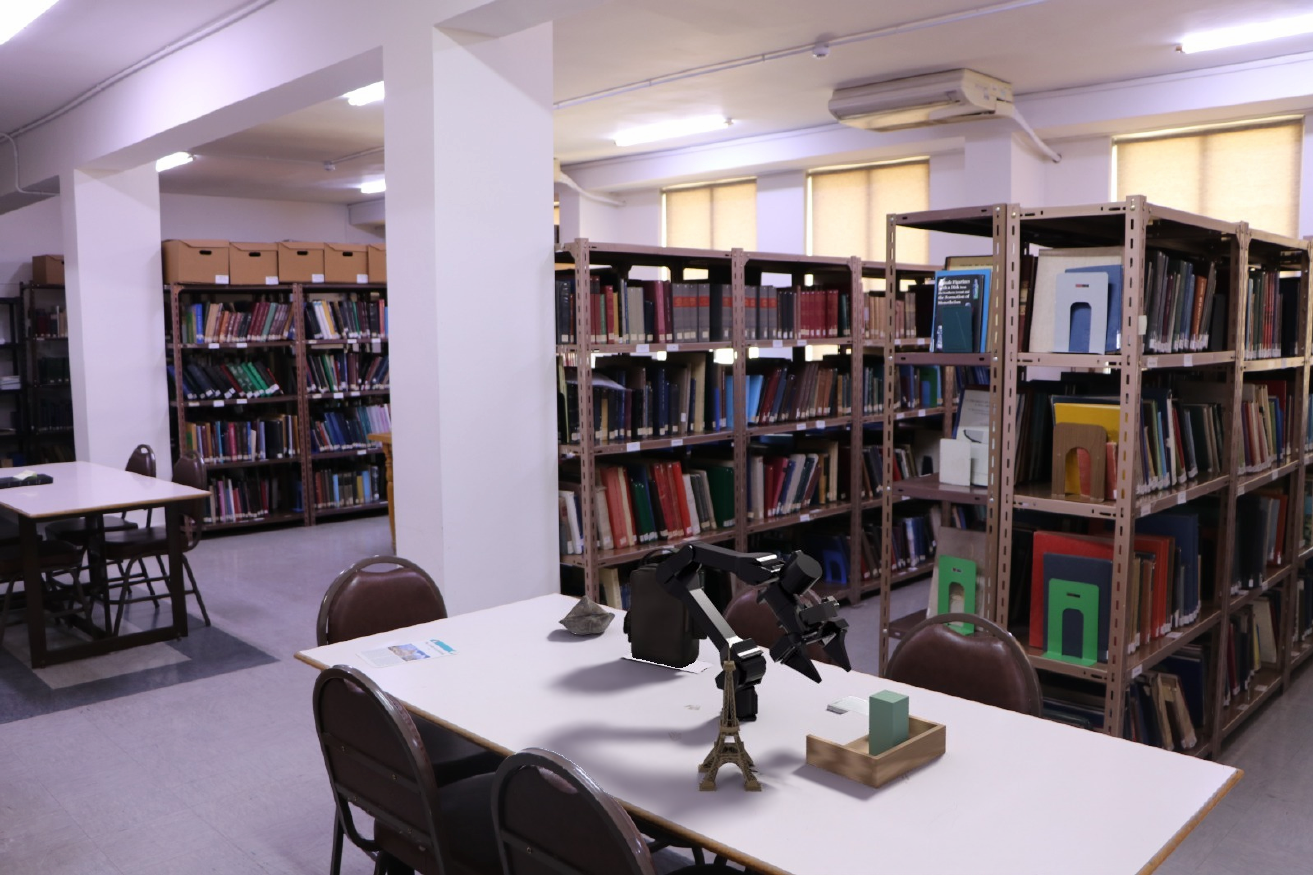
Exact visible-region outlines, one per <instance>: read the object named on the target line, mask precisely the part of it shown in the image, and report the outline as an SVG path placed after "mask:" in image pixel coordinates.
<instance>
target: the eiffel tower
mask: <svg viewBox="0 0 1313 875" xmlns="http://www.w3.org/2000/svg"><path fill="white" fill-rule="evenodd" d="M722 670H725V671H726V673H725V685H724V697H723V696H722V708H723V710H722V709H721V714H722V715H721V718H719V719H718V730H719V731H718V736H717V739H716V740H713V747H712V749H711V750H710V751H709V753H708V754H707V755H706V757H705V758H704V759H703V762H702V763H701V764H698V772H699V773H706V774H705V776H704V777H703V778H702V781H701V782H699V792H716V791H717V788H716V787H717V786H716V779H717V776H718V773H719V769H720V768H722V766H724V765H726V764H734V765H736V766H737V767H739V769H740V770H741V773H742V775H743V777H744V789H745V792H762V791H763V789H762V784H761V783H760V782H759V781H758V778H757V777H756V776H755V775H754V774H753V773H759V771H757V770H754V769H752V768H750V767H755V766H756V765H755V763H754V760H753V759H752V757H751V755H750V754H749V753H748V751H747V750H746V749H745V742H744V741H742V738H741V737H740V734H739V732H740V731H741V728H740V720H738V718H737V719H736V709H735V696H734V684H733V673H732V671H734V670H736V669H735V665H734V661H730V651H728V661H724V665H723V669H722ZM729 696H730V710H731V720H728V704H729ZM726 737H733V740H734V742H731V741H730V742H729V741H727V742H726Z"/></svg>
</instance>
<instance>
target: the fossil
mask: <svg viewBox="0 0 1313 875" xmlns="http://www.w3.org/2000/svg"><path fill="white" fill-rule="evenodd" d="M615 617H616V614H615V613H613V612H611V611H610V612H608V611H607V610H605V609H604V608H602V606H601V605H599V604H598V603H596V602H595V601H594V600H592V599H591V598H590V597H589V595H583V596H582V597H581V599H580V600H579V601H578V602H577V603H575V605H574V606H573V607H572V608H571V610H570V611H569V612H568V613H567V614H566V615H565V617H564V618H562V619H560V620H559V621H558V623H559V624H560V625H562V626H564V627H565V628H566V629H567V630H568V631H569V632H570V633H572V634H574V633H576V634H575V635H579V634H585V635H589V634H588V633H590V634H592V633H598V634H601V633H603V632H605V631H606V630H607V629H608V628H609V626H610V625H611V623H612V621H613V620H614V619H615ZM600 632H601V633H600Z"/></svg>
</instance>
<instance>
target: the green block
mask: <svg viewBox="0 0 1313 875" xmlns="http://www.w3.org/2000/svg"><path fill="white" fill-rule="evenodd" d="M868 701H869V716H868V734H869V754H870V755H873V756H877V755H879V754H881V753H883V752H885V751H887V750H889V749H891V748H893V747H895V746H897V745H899V744H902V743H904V742H906V741H908V739H909V715H910V714H909V713H910V710H909V709H910V704H909V703H910V696H909V695H906V694H903V693H900V692H899V693H898V692H896V691H891V690H888V689H883V690H881V691H879V692H876V693H874V694H871V695H869V696H868Z"/></svg>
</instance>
